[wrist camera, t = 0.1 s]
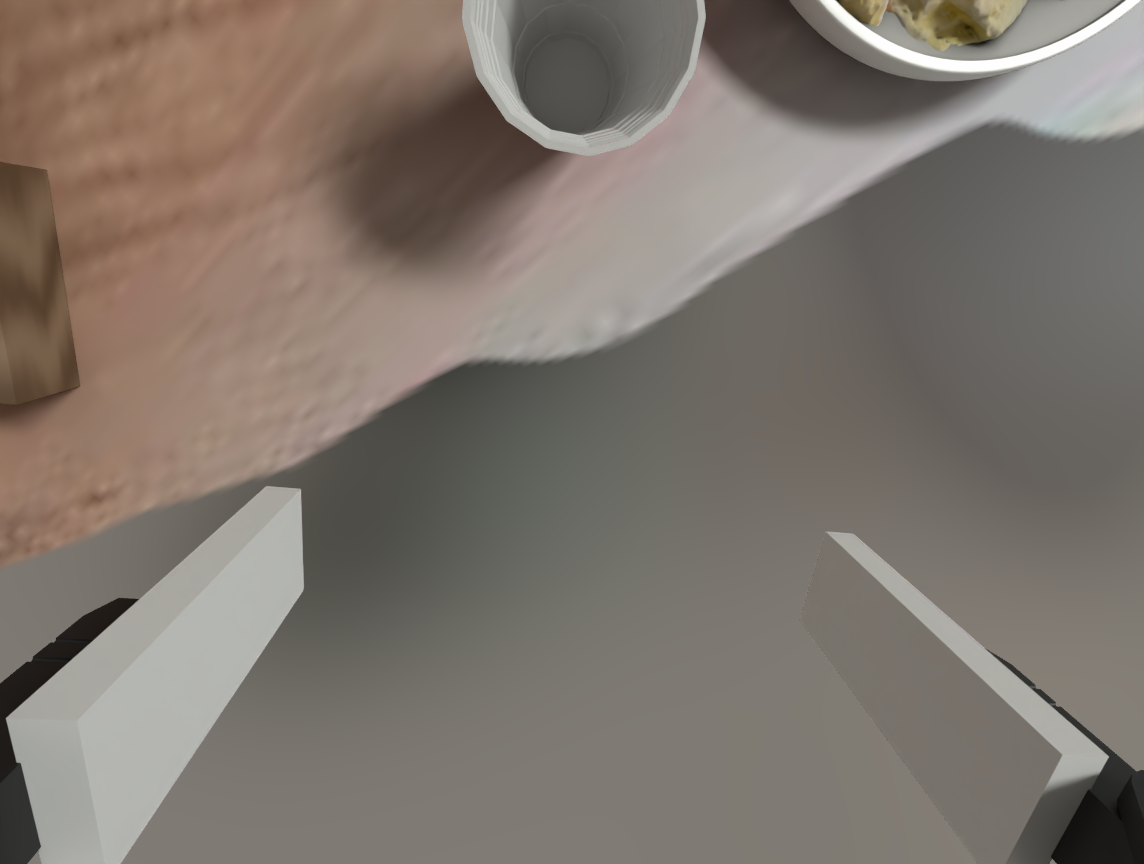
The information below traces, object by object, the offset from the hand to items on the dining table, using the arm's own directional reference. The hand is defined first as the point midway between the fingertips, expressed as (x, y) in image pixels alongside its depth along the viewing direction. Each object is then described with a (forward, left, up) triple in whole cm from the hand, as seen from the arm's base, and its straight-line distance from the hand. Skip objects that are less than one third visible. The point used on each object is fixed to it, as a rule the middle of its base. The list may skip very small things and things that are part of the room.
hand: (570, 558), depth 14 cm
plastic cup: (-17, 0, -28) cm, 33 cm away
